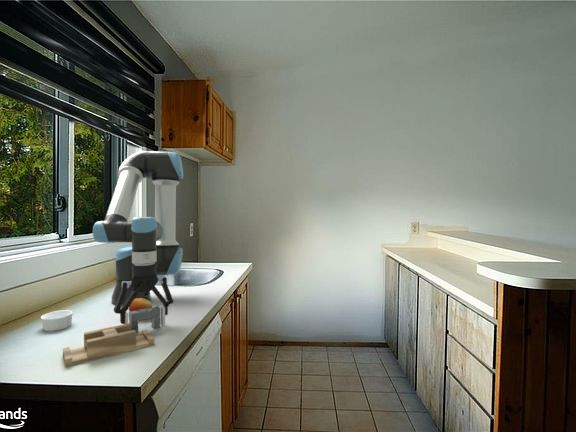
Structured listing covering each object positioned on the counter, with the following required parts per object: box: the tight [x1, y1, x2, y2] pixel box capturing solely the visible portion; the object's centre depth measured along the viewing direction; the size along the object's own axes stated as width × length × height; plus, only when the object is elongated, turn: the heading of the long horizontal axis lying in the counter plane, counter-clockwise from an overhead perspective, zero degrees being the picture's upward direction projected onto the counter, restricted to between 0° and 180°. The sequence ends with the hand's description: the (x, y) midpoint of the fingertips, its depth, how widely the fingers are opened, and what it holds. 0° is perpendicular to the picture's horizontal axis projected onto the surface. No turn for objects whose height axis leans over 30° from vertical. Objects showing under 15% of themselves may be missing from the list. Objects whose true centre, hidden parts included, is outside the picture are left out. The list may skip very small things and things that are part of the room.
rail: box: [62, 322, 155, 368], centre depth 94 cm, size 8×22×5 cm, turn 128°
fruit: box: [128, 298, 154, 312], centre depth 120 cm, size 8×8×8 cm
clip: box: [128, 306, 161, 334], centre depth 109 cm, size 3×9×6 cm, turn 128°
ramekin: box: [40, 309, 73, 332], centre depth 111 cm, size 9×9×4 cm
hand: (145, 328), depth 109 cm, fingers open, 11 cm apart
